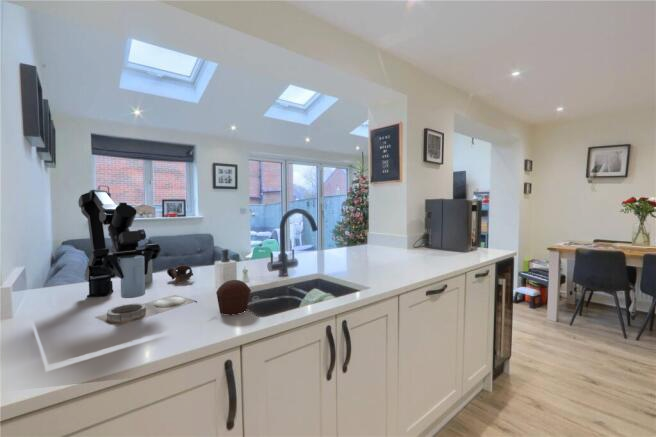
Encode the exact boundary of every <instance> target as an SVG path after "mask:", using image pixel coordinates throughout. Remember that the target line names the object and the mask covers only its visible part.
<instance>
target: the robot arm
mask: <svg viewBox="0 0 656 437" xmlns="http://www.w3.org/2000/svg"><path fill="white" fill-rule="evenodd" d="M108 194H109V193H108V191H107V190H105V189H90V190H89V191H88V192H86V193H83V194H81V195H80V197H79V198H78V206H79V208H80V211H81V213H82V215H83V216H84V217H85V218H86V219H87V226H88V233H89V241H90V248H91V254H90V257H89V259H88V260H87V266H86V268H85V270H84V271H85V272H84V275H83V276H84V280H85V281H86V282H88V294H87V295H86V297H87V298H90V297H94V298H96V297H106V296H108V295H110V294H112V293H113V292H114V290H113V289H114V288H113V281H112V278H113V279H114V278H115V277H116V276H117V278H119V279H120V280H121V279H122V278H123V274H122V271H121V269H120V263H119V262H118V259H120V258H122V257H127V256H144V262H145V275H147V272H148V262H149V261H150V260H152V261H153V260H156V259H157V258H158V256H159V254H160V252H161V250H162V248H161V245H159V244H158V243H151V244H148V243H147V244H145V246H144V248H143V249H137V248H138V247H139V246H140V245H139V244H140V243H139V242H141V241H144V240H145V239H146V238H147V234H146V231H145V229H143V228H142V229H137V230H130V227H132V226H133V223H134V221H135V218H136V215H137V209H136V208H134V206H132V205H129V204H127V202H119V204H116V203H114V201H113V200H112V198H111V197H110V196H109V195H108ZM104 225H105V226H106V225H107V226H108V227H107V231H108V236H109V237H110V240H111V248H112V249H114V251H113V250H110V249H109V248H107V245H106V238H105V237H106V236H105V232H104V231H105V230H104Z"/></svg>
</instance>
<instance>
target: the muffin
mask: <svg viewBox="0 0 656 437" xmlns="http://www.w3.org/2000/svg"><path fill="white" fill-rule="evenodd" d="M251 291H252V290H251V289H250V287H249V286H248V285H247V283H245V281H243V280H238V279H231V280H226V281H225V282H224V283H222V284H221V285H220V286H219V287H218V288H217V290H216V292H215V294H216V298H217V303H218V304H217V305H218V309H219V312H220V313H221V314H222V313H223V314H229V315H228V316H233V315H232V314H235V315H239V314H238V313H241V314H243V313H245V312H244V311H246V312H247V310H248V305H249V301H250V300H249V299H250V293H251ZM242 312H243V313H242ZM223 314H222V315H223Z"/></svg>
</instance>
